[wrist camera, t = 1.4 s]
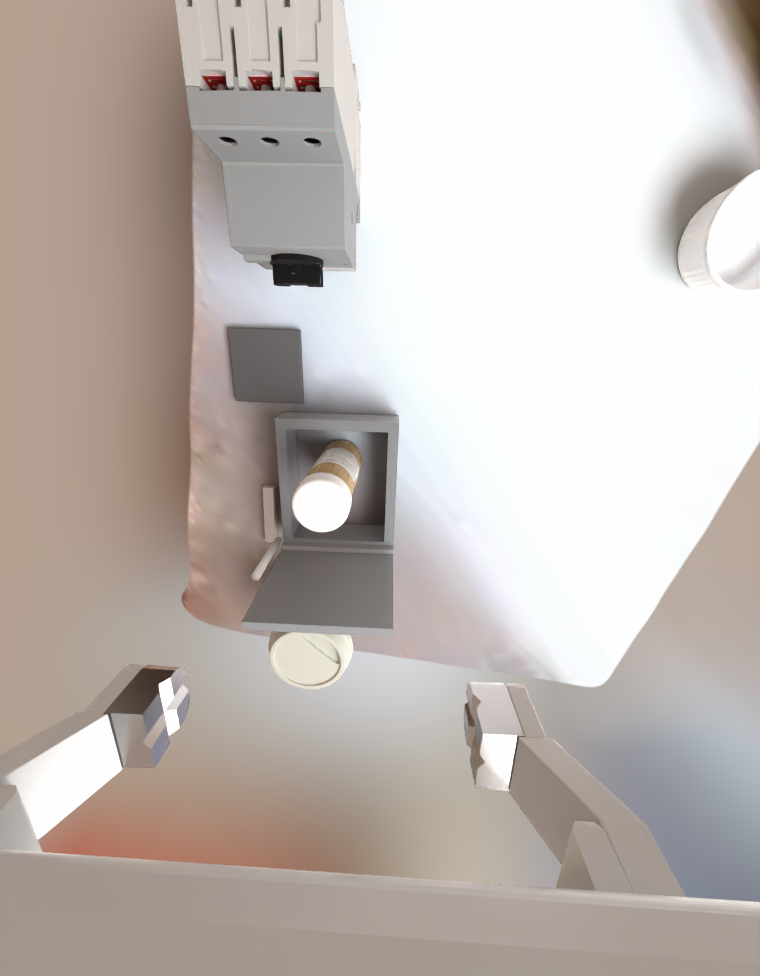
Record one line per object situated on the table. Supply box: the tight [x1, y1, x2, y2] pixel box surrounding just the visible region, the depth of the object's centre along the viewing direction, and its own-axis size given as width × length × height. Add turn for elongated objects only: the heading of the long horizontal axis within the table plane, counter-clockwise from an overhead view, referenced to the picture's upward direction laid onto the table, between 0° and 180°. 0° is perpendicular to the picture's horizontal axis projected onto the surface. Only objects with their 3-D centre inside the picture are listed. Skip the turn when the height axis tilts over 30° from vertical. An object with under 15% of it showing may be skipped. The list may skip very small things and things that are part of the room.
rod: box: [263, 485, 277, 543], centre depth 43 cm, size 7×1×1 cm, turn 176°
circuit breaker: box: [175, 0, 360, 287], centre depth 26 cm, size 8×14×15 cm, turn 179°
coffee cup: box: [269, 631, 353, 689], centre depth 41 cm, size 8×8×12 cm
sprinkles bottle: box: [292, 440, 362, 532], centre depth 34 cm, size 5×5×13 cm
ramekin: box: [678, 168, 760, 295], centre depth 31 cm, size 9×9×4 cm
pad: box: [228, 328, 304, 403], centre depth 37 cm, size 7×7×1 cm
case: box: [242, 412, 399, 637], centre depth 34 cm, size 15×13×16 cm
